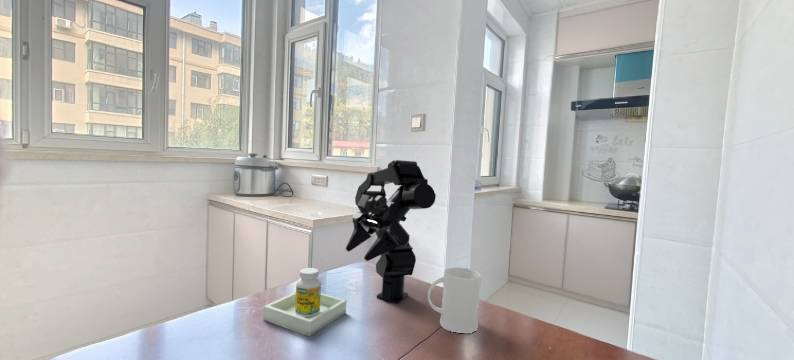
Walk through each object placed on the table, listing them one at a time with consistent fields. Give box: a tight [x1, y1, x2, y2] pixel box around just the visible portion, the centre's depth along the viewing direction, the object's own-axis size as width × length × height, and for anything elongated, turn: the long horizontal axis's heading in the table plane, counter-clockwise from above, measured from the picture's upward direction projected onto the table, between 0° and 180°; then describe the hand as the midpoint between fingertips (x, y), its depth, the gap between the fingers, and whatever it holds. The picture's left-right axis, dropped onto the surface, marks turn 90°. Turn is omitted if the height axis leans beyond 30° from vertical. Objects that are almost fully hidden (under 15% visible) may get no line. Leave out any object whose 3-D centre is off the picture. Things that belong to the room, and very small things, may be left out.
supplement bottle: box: [295, 267, 322, 318], centre depth 75 cm, size 5×5×10 cm
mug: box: [427, 266, 482, 334], centre depth 76 cm, size 12×8×12 cm
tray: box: [263, 291, 347, 337], centre depth 75 cm, size 13×13×3 cm
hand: (355, 254), depth 78 cm, fingers open, 9 cm apart
